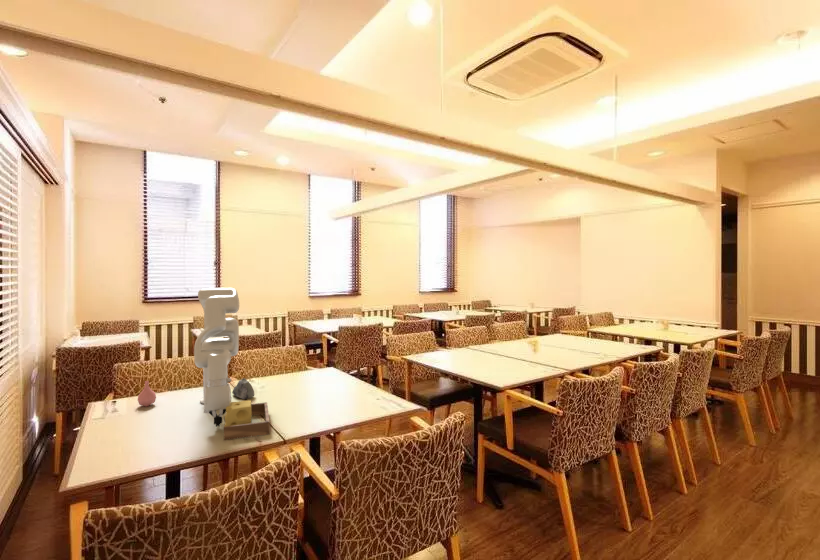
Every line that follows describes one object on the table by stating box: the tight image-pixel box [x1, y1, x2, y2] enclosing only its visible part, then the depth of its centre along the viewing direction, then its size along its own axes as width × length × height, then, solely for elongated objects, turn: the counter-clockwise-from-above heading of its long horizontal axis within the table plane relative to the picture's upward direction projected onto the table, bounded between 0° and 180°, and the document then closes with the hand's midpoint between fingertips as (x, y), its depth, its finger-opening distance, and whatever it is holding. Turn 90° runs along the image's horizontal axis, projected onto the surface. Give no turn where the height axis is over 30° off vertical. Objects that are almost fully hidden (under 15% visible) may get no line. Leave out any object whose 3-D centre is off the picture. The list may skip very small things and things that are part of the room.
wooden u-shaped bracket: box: [223, 401, 271, 441], centre depth 174 cm, size 26×17×5 cm, turn 22°
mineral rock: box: [231, 377, 255, 400], centre depth 215 cm, size 13×11×10 cm
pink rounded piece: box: [137, 380, 157, 407], centre depth 199 cm, size 8×8×12 cm
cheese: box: [223, 399, 253, 428], centre depth 172 cm, size 10×11×10 cm
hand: (217, 425), depth 170 cm, fingers closed
